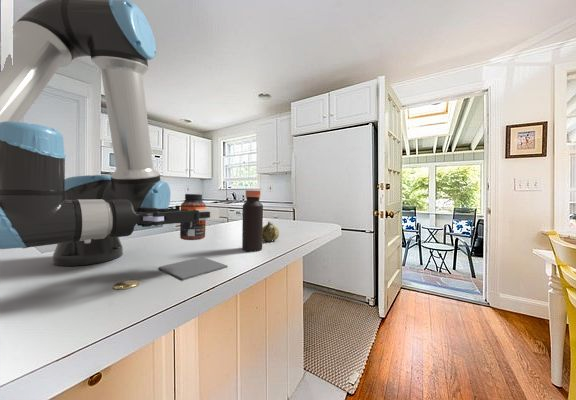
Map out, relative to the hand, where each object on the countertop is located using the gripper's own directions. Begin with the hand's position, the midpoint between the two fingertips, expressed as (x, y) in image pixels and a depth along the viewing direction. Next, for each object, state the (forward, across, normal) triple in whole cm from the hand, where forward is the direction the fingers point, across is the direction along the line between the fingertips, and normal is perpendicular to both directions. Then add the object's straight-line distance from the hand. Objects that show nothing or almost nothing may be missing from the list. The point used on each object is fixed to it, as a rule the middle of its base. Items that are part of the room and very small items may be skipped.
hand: (211, 212), depth 64 cm
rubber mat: (-5, 0, -14) cm, 15 cm away
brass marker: (-20, 0, -14) cm, 24 cm away
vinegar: (+18, -4, -14) cm, 23 cm away
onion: (+32, -8, -14) cm, 36 cm away
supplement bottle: (-5, 0, -6) cm, 8 cm away
